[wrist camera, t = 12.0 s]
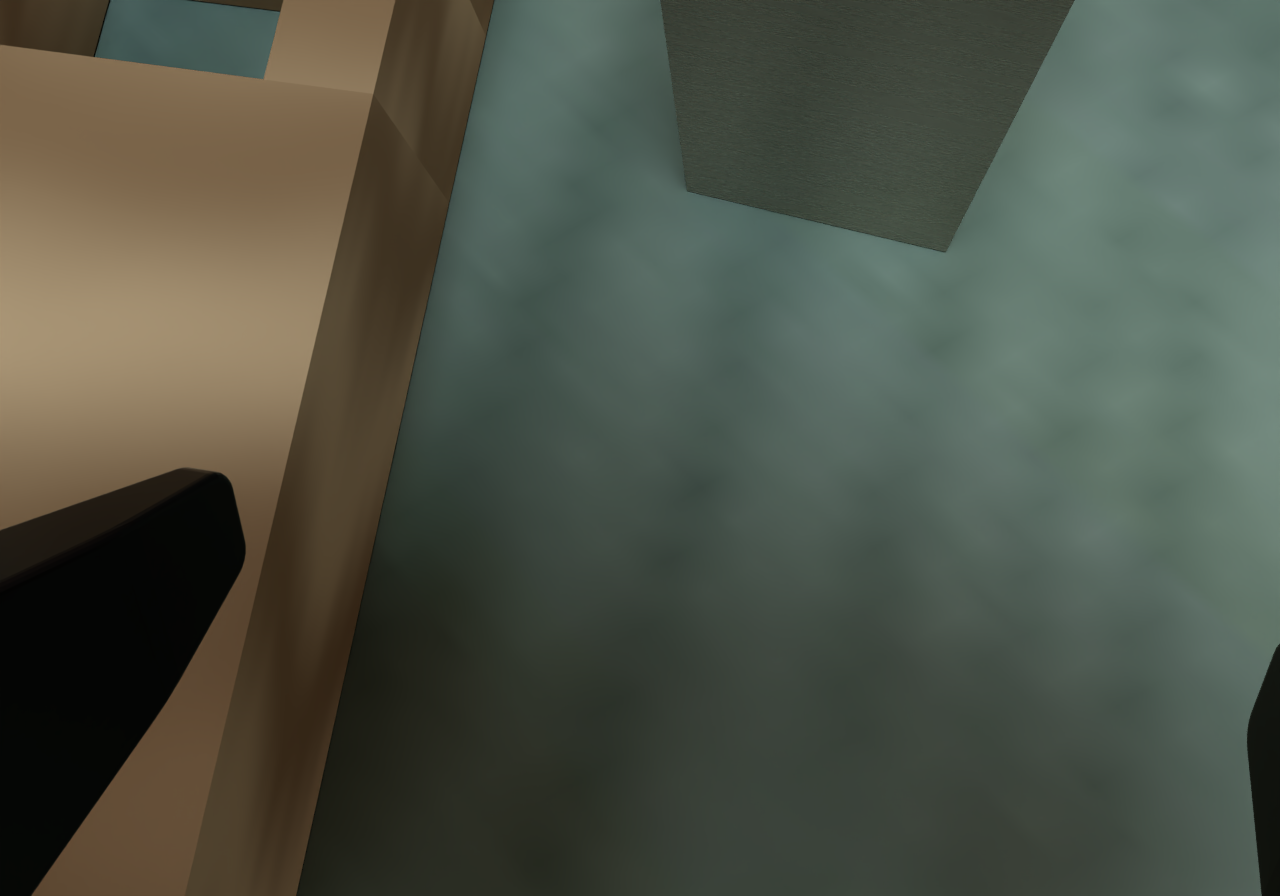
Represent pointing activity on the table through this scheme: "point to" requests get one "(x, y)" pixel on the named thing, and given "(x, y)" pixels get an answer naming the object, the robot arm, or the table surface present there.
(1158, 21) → the table surface
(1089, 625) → the table surface
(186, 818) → the hand plane
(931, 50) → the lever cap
